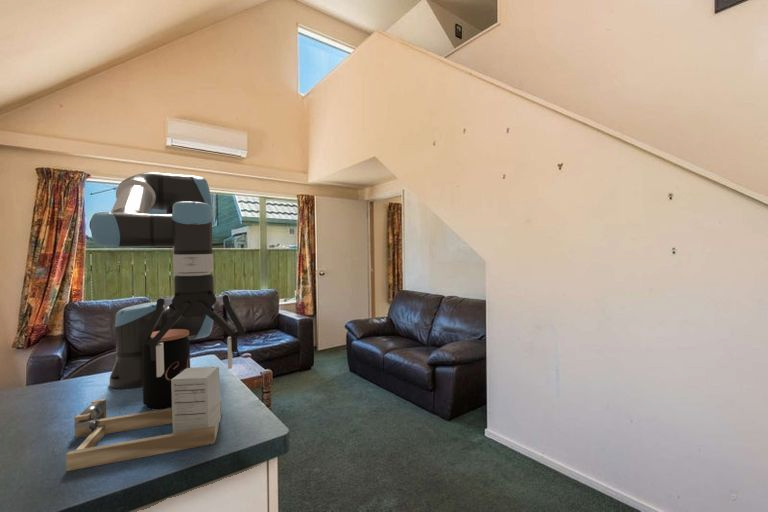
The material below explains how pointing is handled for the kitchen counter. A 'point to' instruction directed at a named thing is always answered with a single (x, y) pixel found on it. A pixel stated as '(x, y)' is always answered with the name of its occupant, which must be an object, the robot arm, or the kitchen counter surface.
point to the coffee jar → (174, 363)
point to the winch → (90, 418)
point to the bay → (137, 448)
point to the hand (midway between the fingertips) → (196, 370)
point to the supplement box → (196, 399)
